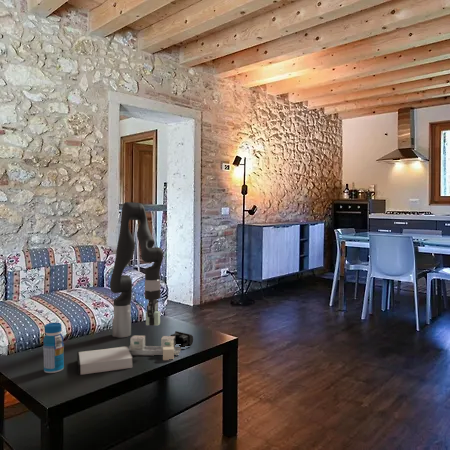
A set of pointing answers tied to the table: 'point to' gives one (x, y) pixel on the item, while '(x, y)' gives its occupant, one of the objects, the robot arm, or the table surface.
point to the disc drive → (103, 360)
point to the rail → (141, 349)
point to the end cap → (183, 339)
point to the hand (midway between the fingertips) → (152, 323)
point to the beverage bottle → (53, 348)
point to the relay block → (168, 353)
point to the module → (156, 318)
